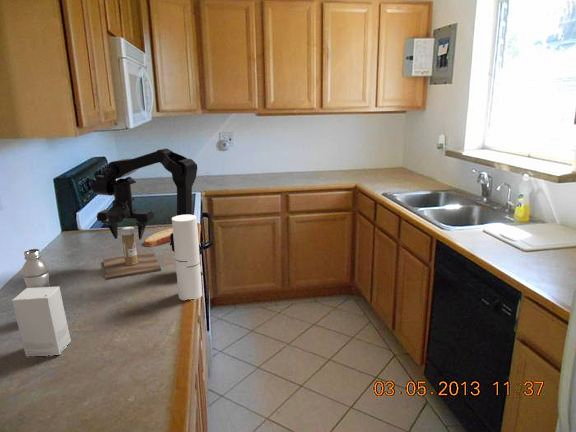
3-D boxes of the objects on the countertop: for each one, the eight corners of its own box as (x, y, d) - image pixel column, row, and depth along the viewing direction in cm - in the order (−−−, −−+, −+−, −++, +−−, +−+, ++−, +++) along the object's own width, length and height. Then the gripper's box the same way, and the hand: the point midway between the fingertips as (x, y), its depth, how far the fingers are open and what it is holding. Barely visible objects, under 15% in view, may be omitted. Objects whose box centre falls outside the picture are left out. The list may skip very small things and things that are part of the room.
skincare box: (71, 342, 107) (62, 285, 102) (59, 357, 100) (48, 298, 96) (38, 343, 106) (26, 286, 102) (23, 358, 100) (10, 299, 96)
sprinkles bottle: (135, 265, 152) (131, 230, 148) (123, 266, 151) (118, 230, 148) (139, 261, 156) (135, 226, 152) (127, 261, 156) (122, 226, 152)
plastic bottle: (29, 326, 114) (15, 257, 108) (32, 315, 120) (19, 249, 114) (56, 321, 116) (44, 253, 111) (58, 310, 122) (46, 245, 117)
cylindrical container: (182, 290, 135) (175, 214, 128) (204, 290, 134) (199, 214, 127) (175, 300, 128) (168, 221, 121) (199, 300, 127) (193, 221, 121)
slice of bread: (142, 248, 173) (141, 239, 172) (148, 234, 190) (147, 226, 189) (187, 245, 176) (186, 237, 175) (189, 232, 193) (188, 224, 192)
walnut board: (161, 270, 150) (160, 267, 150) (106, 280, 143) (105, 277, 142) (153, 254, 166) (153, 251, 165) (103, 262, 158) (103, 259, 158)
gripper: (84, 201, 140) (91, 245, 145) (137, 202, 138) (142, 247, 142) (102, 193, 151) (108, 235, 155) (152, 194, 149) (156, 237, 153)
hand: (128, 238), depth 151 cm, fingers open, 9 cm apart
